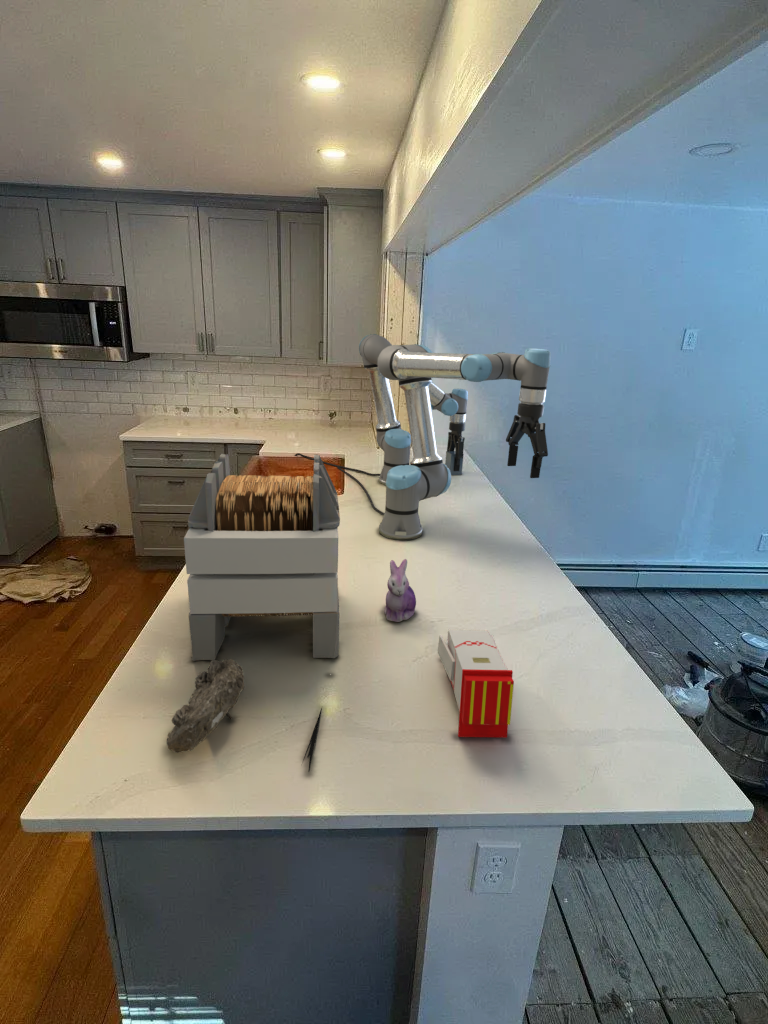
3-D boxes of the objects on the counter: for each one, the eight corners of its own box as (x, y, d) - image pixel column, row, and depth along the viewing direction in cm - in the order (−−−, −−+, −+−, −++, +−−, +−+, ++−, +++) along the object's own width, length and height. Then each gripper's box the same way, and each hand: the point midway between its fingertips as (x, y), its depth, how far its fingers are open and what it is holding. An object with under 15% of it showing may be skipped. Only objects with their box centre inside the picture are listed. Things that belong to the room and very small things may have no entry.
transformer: (215, 589, 155) (206, 444, 141) (335, 588, 159) (337, 446, 145) (189, 663, 124) (173, 484, 110) (339, 659, 127) (342, 486, 113)
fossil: (192, 660, 117) (244, 628, 112) (224, 691, 120) (276, 661, 115) (142, 746, 98) (202, 712, 93) (182, 779, 101) (242, 748, 96)
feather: (331, 679, 122) (336, 673, 122) (307, 777, 96) (313, 769, 95) (324, 675, 122) (329, 669, 121) (298, 772, 95) (304, 764, 95)
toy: (488, 613, 130) (523, 677, 101) (484, 667, 133) (517, 744, 104) (435, 612, 130) (455, 676, 101) (432, 666, 133) (451, 743, 103)
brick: (461, 474, 276) (463, 453, 273) (449, 475, 274) (451, 454, 271) (456, 471, 282) (458, 450, 278) (444, 471, 280) (446, 451, 276)
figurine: (392, 627, 141) (395, 572, 136) (374, 608, 149) (376, 556, 144) (425, 619, 145) (429, 566, 140) (405, 601, 154) (408, 550, 149)
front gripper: (567, 410, 159) (556, 482, 166) (520, 396, 181) (512, 460, 188) (544, 410, 156) (533, 483, 164) (499, 396, 179) (492, 461, 186)
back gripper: (473, 425, 262) (468, 474, 270) (456, 418, 279) (452, 463, 287) (458, 426, 260) (454, 474, 267) (442, 418, 277) (438, 464, 284)
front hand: (522, 471), depth 176 cm, fingers open, 13 cm apart
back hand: (453, 468), depth 277 cm, fingers closed on brick, 6 cm apart
